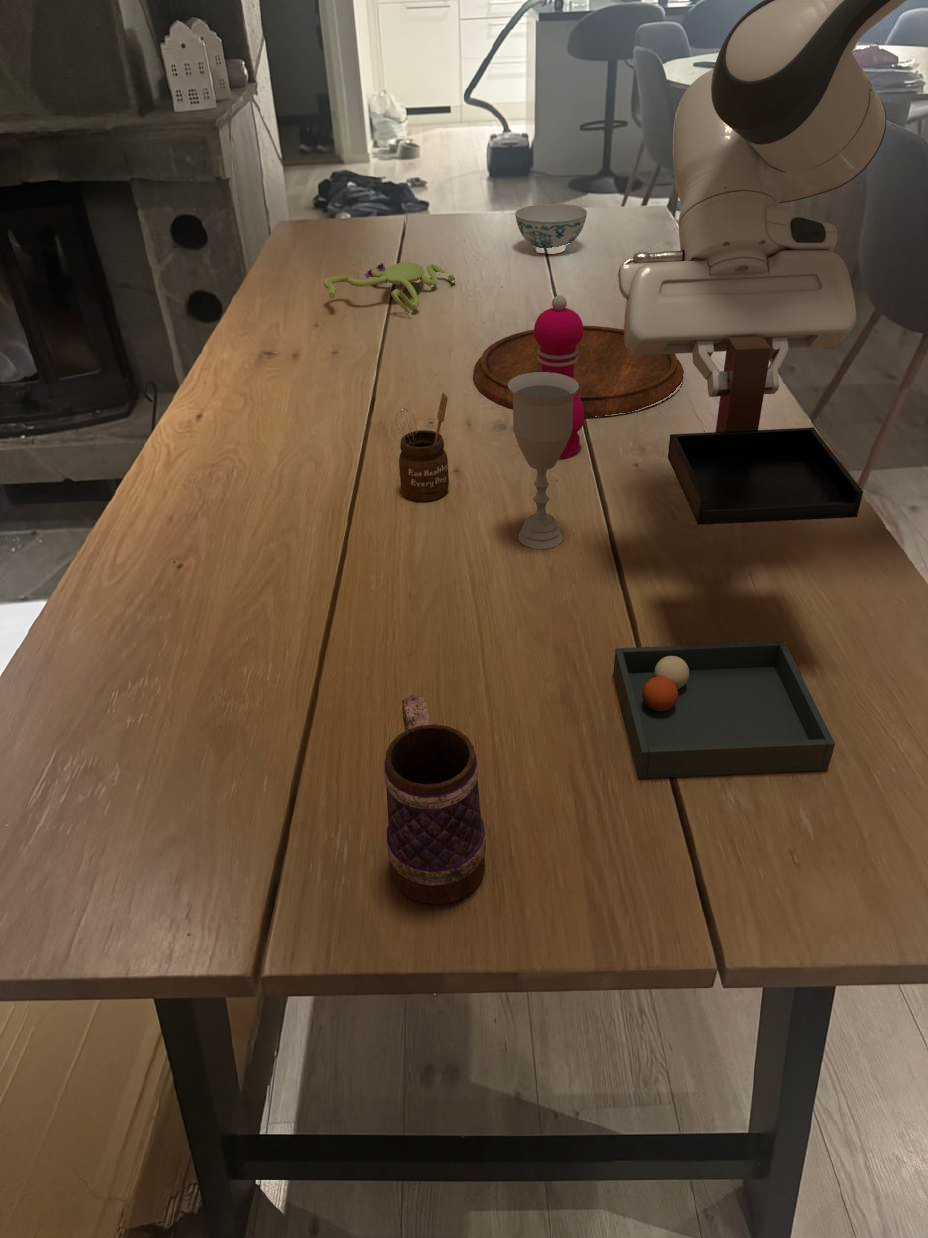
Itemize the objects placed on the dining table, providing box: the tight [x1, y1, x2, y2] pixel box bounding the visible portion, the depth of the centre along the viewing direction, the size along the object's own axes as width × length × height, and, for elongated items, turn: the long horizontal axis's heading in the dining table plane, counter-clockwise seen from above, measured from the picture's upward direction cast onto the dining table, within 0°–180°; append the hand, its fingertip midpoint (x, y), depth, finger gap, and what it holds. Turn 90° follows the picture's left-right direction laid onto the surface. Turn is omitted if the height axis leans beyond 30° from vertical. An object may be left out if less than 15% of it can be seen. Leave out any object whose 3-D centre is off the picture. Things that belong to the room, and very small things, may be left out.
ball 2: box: [642, 676, 678, 711], centre depth 79 cm, size 3×3×3 cm
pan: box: [667, 336, 864, 526], centre depth 78 cm, size 13×15×10 cm
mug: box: [383, 694, 487, 905], centre depth 66 cm, size 10×7×12 cm
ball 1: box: [655, 656, 689, 689], centre depth 82 cm, size 3×3×3 cm
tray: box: [612, 640, 836, 780], centre depth 79 cm, size 15×13×3 cm
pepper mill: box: [533, 294, 585, 460], centre depth 116 cm, size 7×7×20 cm
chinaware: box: [514, 203, 588, 248], centre depth 196 cm, size 15×15×8 cm
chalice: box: [508, 372, 579, 550], centre depth 99 cm, size 7×7×18 cm
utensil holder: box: [394, 391, 450, 502], centre depth 111 cm, size 6×6×12 cm
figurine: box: [323, 262, 456, 313], centre depth 175 cm, size 18×27×6 cm
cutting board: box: [472, 325, 685, 419], centre depth 142 cm, size 32×32×2 cm
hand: (744, 393), depth 82 cm, fingers closed on pan, 3 cm apart
